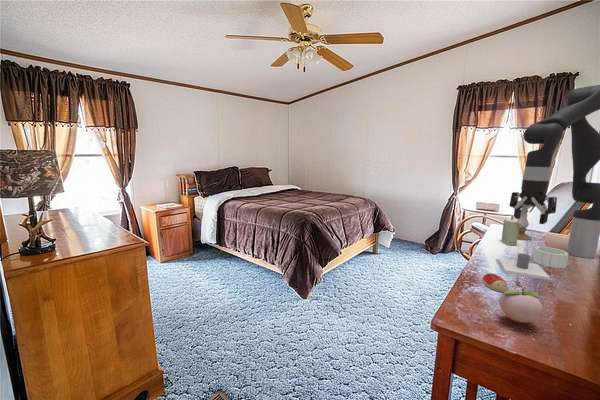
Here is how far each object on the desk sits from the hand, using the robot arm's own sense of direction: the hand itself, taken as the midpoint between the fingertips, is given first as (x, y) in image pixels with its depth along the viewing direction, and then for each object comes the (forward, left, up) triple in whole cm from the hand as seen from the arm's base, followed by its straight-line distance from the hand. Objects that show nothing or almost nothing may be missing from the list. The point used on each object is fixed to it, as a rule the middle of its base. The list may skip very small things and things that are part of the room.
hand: (529, 221), depth 103 cm
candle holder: (-53, +11, -20) cm, 58 cm away
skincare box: (-38, +3, -20) cm, 43 cm away
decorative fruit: (+43, -10, -20) cm, 49 cm away
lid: (0, 0, -20) cm, 20 cm away
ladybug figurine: (+20, -12, -21) cm, 31 cm away
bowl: (-13, +12, -20) cm, 27 cm away
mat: (0, 0, -20) cm, 20 cm away
